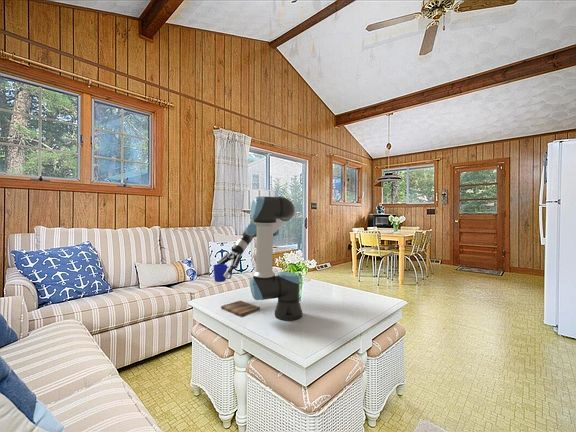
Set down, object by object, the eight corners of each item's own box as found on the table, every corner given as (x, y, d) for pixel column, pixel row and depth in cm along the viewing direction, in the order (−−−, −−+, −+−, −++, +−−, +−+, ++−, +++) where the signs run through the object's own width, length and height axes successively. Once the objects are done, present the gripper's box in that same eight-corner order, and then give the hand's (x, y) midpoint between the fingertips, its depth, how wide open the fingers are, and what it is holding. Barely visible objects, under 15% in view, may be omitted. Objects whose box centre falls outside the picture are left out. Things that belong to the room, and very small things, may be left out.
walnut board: (259, 309, 161) (259, 307, 161) (240, 316, 151) (240, 313, 151) (240, 302, 173) (240, 300, 173) (221, 308, 163) (221, 306, 163)
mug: (229, 283, 168) (229, 267, 168) (211, 282, 170) (210, 266, 170) (234, 280, 176) (234, 264, 176) (217, 279, 179) (217, 263, 178)
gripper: (254, 252, 177) (234, 282, 165) (232, 249, 192) (212, 276, 181) (247, 245, 173) (226, 274, 161) (225, 242, 188) (205, 269, 177)
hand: (219, 275), depth 171 cm, fingers closed on mug, 11 cm apart
